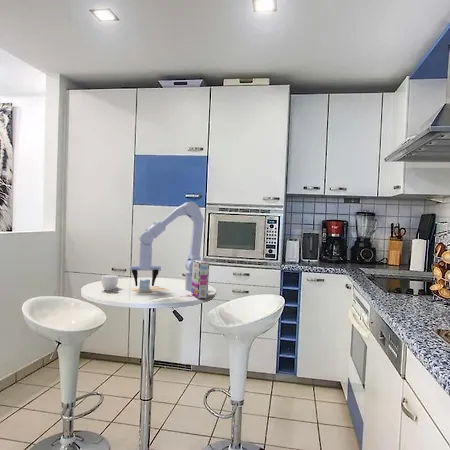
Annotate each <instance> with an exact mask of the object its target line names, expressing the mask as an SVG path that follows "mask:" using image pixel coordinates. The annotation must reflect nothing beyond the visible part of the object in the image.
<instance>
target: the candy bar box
mask: <svg viewBox="0 0 450 450" xmlns="http://www.w3.org/2000/svg"><path fill="white" fill-rule="evenodd" d="M209 271H210V262H207V261H205V260H201V261H200V260H193V267H192V289H191V291H190V292H191V295H192V296H193V297H194V298H196V299H198V300H207V299H208V298H209V296H208V294H209V293H208V292H209V274H210V272H209Z"/></svg>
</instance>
